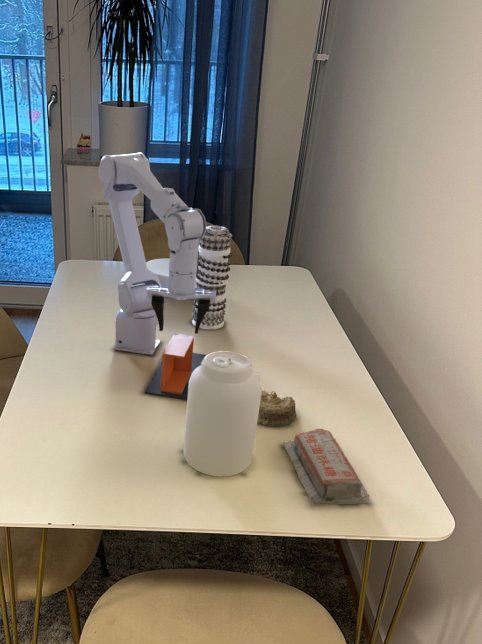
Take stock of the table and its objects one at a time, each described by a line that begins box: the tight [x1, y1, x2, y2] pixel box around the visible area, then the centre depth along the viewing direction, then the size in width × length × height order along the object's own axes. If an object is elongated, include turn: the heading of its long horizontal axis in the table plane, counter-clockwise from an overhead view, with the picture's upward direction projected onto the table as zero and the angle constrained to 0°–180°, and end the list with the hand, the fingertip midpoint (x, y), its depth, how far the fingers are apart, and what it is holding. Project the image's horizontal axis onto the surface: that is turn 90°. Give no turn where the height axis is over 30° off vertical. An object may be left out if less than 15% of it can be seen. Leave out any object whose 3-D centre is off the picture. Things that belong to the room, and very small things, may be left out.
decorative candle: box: [191, 225, 233, 330], centre depth 165 cm, size 9×9×25 cm
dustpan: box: [161, 333, 195, 394], centre depth 142 cm, size 4×17×9 cm, turn 165°
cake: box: [257, 390, 298, 427], centre depth 131 cm, size 10×10×5 cm
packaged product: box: [283, 428, 370, 506], centre depth 114 cm, size 18×5×10 cm
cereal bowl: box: [146, 257, 197, 286], centre depth 190 cm, size 17×17×7 cm
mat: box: [144, 352, 207, 401], centre depth 145 cm, size 18×22×1 cm
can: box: [183, 350, 263, 477], centre depth 113 cm, size 12×12×20 cm
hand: (178, 330), depth 141 cm, fingers open, 7 cm apart
